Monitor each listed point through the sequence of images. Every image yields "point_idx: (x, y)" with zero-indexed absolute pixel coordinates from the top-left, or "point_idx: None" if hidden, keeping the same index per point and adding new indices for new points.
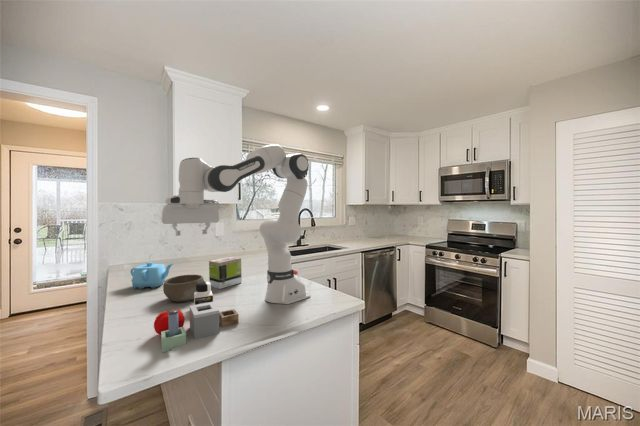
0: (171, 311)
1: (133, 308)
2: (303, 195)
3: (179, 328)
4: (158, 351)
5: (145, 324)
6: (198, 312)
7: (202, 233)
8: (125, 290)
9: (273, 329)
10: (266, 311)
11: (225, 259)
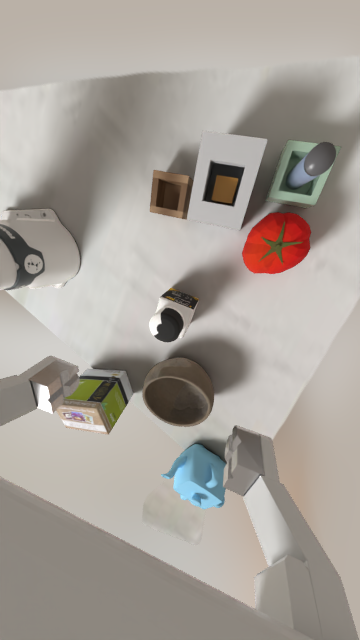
0: (323, 163)
1: (260, 395)
2: None
3: (280, 191)
4: None
5: (280, 319)
6: (248, 156)
7: (75, 382)
8: None
9: (116, 94)
10: (95, 207)
11: (79, 418)
